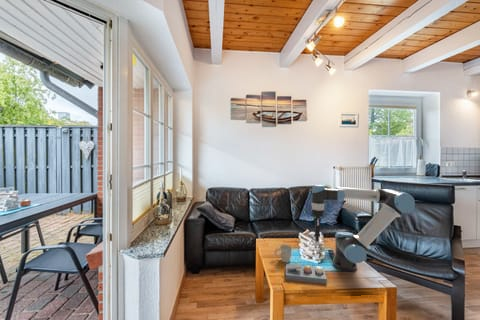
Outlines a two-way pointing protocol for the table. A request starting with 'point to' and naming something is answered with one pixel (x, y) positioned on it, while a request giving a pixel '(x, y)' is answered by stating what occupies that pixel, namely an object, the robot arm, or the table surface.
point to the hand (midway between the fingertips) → (316, 245)
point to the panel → (305, 275)
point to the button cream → (319, 270)
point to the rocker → (294, 266)
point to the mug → (284, 252)
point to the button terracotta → (307, 269)
